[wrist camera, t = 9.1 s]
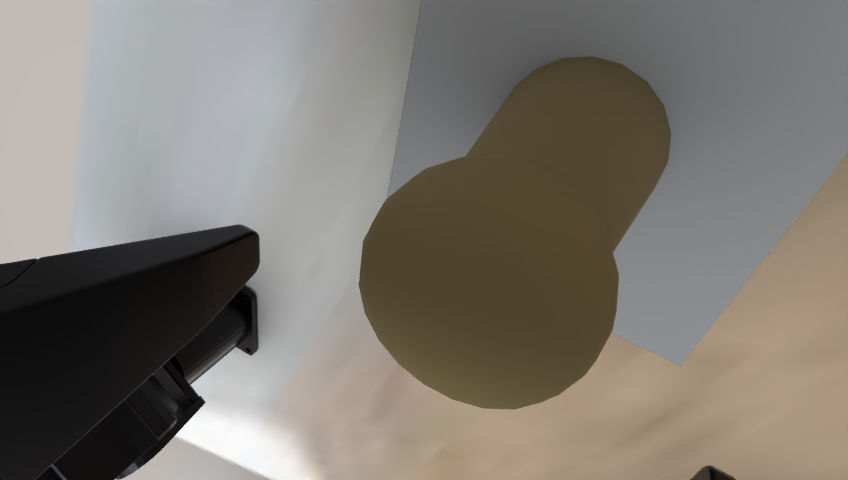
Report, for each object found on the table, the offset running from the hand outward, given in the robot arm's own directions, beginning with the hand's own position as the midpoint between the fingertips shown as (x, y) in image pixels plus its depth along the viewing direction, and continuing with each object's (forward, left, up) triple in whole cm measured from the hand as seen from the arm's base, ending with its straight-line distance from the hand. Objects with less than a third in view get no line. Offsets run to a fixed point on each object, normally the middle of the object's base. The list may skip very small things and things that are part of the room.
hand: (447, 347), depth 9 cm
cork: (0, 0, -11) cm, 11 cm away
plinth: (+1, 0, -13) cm, 13 cm away
